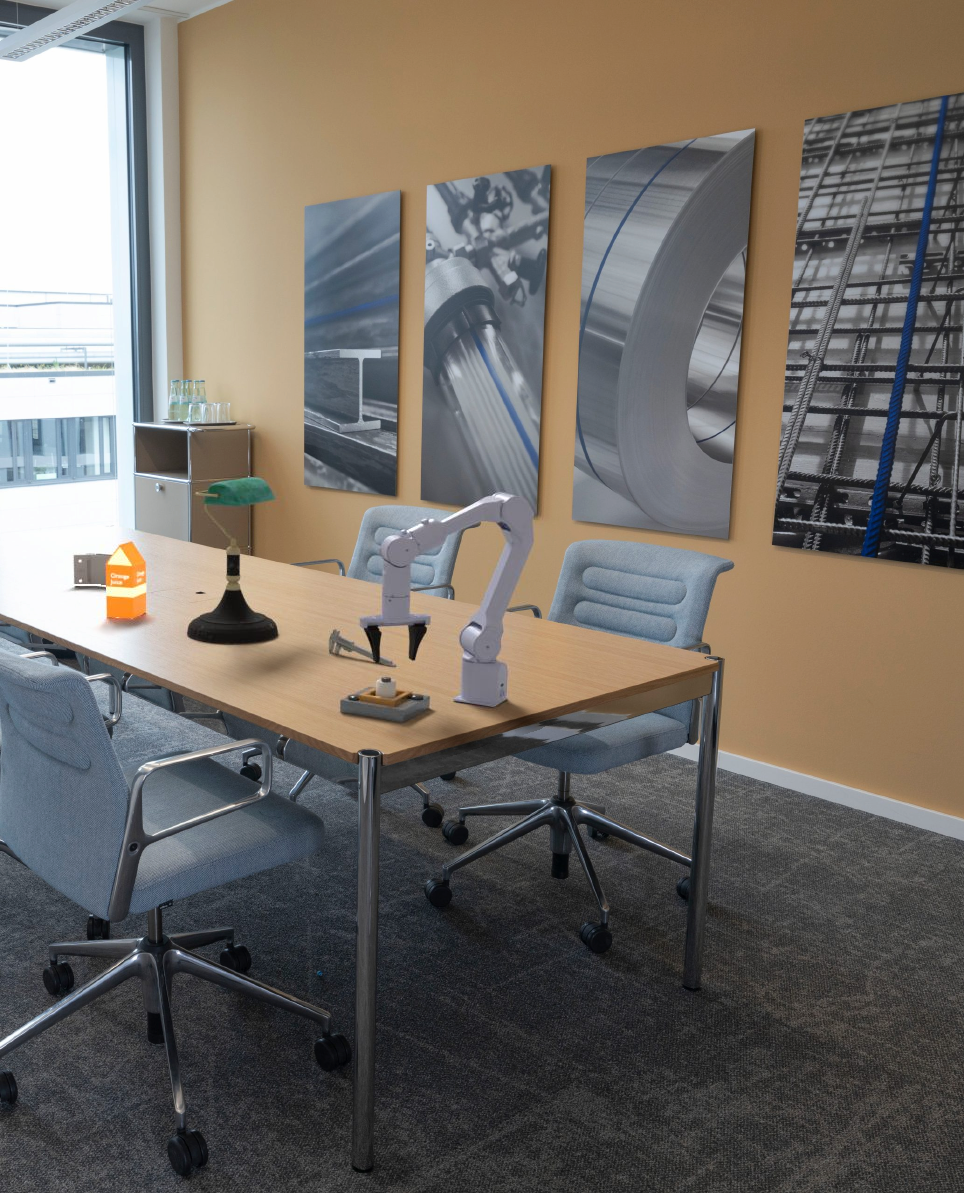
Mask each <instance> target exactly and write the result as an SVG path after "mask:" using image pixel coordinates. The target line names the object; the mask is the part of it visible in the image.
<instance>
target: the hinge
mask: <svg viewBox="0 0 964 1193" xmlns="http://www.w3.org/2000/svg"><path fill="white" fill-rule="evenodd" d="M112 555H113V553H112V554H109V553H96V554H95V553H93V552H92V553H91V552H89V553H85V554H73V585H74V584H101V585H106V564H107V562H108V561H109V559H110V558H111V556H112ZM80 560H81V561H80ZM80 580H81V581H80Z"/></svg>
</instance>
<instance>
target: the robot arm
mask: <svg viewBox="0 0 964 1193" xmlns="http://www.w3.org/2000/svg"><path fill="white" fill-rule="evenodd" d="M534 517H535V512H534V510H533V508H532V506H531V504H530V502H529V501H528V500H527V499H526V498H525V497H523V496H519V495H515V494H510V493H508V492H505V491H499V492H496V493H494V494H492V495H488V496H485V497H482V498H481V499H480V500H478V501H476V502H474V503H472V504H471V505H468V506H466V507H465V508H462V509H461V510H459V511H458V512H455V513H454V514H452V515H450V516H448V517H446V518H444V519H441V520H439V519H438V520H437V519H435V518H430V519H428V518H423V519H421V520H420V524H417V525H415V526H413V527H410V528H409V529H402V530H400V532H399V533H400V534H399V535H396V534H392V535H389V536H387V537H386V538H385V539H383V541H382V543H381V544H380V547H379V548H378V552H379V555H380V558H382V560H383V561H382V573H381V574H382V576H381V578H382V579H381V580H382V581H381V614H378V615H369V616H360V617H359V627H360V628H362V629H363V632H364V633H365V635H366V637H367V640H368V643H369V645H370V648H371V650H370V651H372V654H373V660H372V661H373V662H374V663H376V664H377V663H378V664H380V663H379V662H380V655H381V640H382V635H383V632H382V631H381V630H380V628H381V627H402V626H407V628H408V639H409V640H408V641H409V642H408V659H409V660H411V661H412V662H413V661H416V659H417V658H416V657H417V654H418V650H419V648H420V645H421V643H422V641H423V638H424V637H425V635H426V634H427V632H428V627H427V626H431V615H429V614H428V613H425V614H423V613H420V614H419V613H411V611H410V610H411V607H410V606H411V585H412V584H411V582H412V581H411V580H412V576H411V567H412V564H413V563H414V561H415V559H416V558H417V557H420V556H422V555H424V554H426V553H428V552H430V551H433V550H435V549H437V548H439V547H441V546H443V545H445V543H446V542H447V539H448V536H450V535H453V534H454V533H457V532H459V531H462V530H464V529H466V528H469V527H471V526H474V525H476V524H479V523H481V522H489V523H495V524H496V525H498V527H499V528H500V530H501V532H502V534H503V536H504V538H505V541H506V542H505V545H504V547H503V550H502V553H501V554H500V557H499V560H498V562H497V565H496V567H495V569H494V572H493V574H492V577H491V579H490V582H489V584H488V587H487V589H486V592H485V595H484V596H483V599H482V602H481V604H480V606H479V609H478V610H477V611H476V612H475V613H473V615H471V617H470V619H469V621H468V623H466V625H464V627H463V628H462V629H461V631H460V633H459V635H458V642H459V646H460V647H461V648H462V649H463V653H462V656H461V672H460V673H461V675H460V694H458V695H457V696H455V697H453V698H452V701H454V702H460V703H464V704H466V703H467V704H473V705H478V706H486V707H489V708H490V707H491V708H494V707H496V706H498V705H500V704H501V703H503V702H505V701H506V700H507V699H509V698H508V695H507V694H508V693H507V692H508V674H509V673H508V672H509V670H508V665H507V663H505V662H504V661H503V662H502V661H500V660H498V659H497V657H498V656H499V654H500V653H501V650H502V637H503V634H504V623H503V618H504V616H505V614H506V612H507V609H508V606H509V604H510V602H511V599H512V597H513V594H514V592H515V589H516V587H517V585H518V582H519V580H520V577H521V575H522V572H523V570H524V568H525V565H526V562H527V560H528V557H529V555H530V553H531V551H532V548H533V545H534V541H535V537H534V536H535V534H534V522H533V519H534ZM379 627H380V628H379Z"/></svg>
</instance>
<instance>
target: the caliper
mask: <svg viewBox="0 0 964 1193" xmlns="http://www.w3.org/2000/svg"><path fill="white" fill-rule="evenodd" d="M340 632H341V631H340V630H337V628H335V629H333V630H332V632H331V633H330V634H329V639H328V652H329V654H332V653H334V655H338V654H339V653H340V651H341V649H343V650H344V651H346V652H348V653H352V652H355V653H357V654H360V655H361V656H364V657H366V658H369V659H371V660H372V661H373V654H372V650H369V649H367V648H365V647H363V646H360V645H358V644H356V643H355V641H353V640H351V639H350V638H347V637H345V636H343V635H340ZM378 664H381V665H383V666H387V667H393V668H394V667H397V664H396V663H394V660H392V659H389V658H388V657H385V656H383V655H381V654H380V662H379V663H378Z"/></svg>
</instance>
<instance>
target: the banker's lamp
mask: <svg viewBox="0 0 964 1193" xmlns="http://www.w3.org/2000/svg"><path fill="white" fill-rule="evenodd" d="M194 494H195V496H197V497H199V496H200V497H205V498H204V499H203V500H204V501H203V505H204V511H205V512H206V513H207V515H208V516H209V517H210V518H211V520H212V521H213V522H214V523H215V524H216V525H217V526H218V528H220V530H221V531H222V532H223V534H224V535H226V537H227V538H228V539H229V541H230V546H228V547H226V550H225V554H226V575H225V579H226V581H227V582H228V583H226V584H225V585H226V586H225V589H224V592H223V594H222V597H221V599H220V601H219V603H218V604H217V606H216V607H215V608H214V609H213V610H212V611H209V612H205V613H202V614H200V615H199V616H197V617H196V618H193V619H192V620H191V621H190V622H189V624H188V625H187V630H186V635H187V636H188V637H189V638H191V639H193V640H197V641H199V640H200V641H199V642H204V641H205V642H206V643H212V642H214V643H213V644H227V643H229V644H234V643H236V644H251V643H260V642H265V641H267V640H268V641H269V640H272V639H274V638H275V637H276V636H278V635H279V631H278V626H277V623H276V622H275V621H274V620H273V619H272V618H270V617H269V616H267V615H265V614H263V613H261V612H256V611H254V610H253V609H252V608H251V607H250V606H249V604H248V602H247V600H246V598H245V596H244V595H243V591H242V589H241V584H240V583H239V581H240V580H241V571H240V570H241V549H240V547H239V546H237V538H234V537H233V536H232V535H231V534H230V533H229V532H228V531H227V530H226V528H225V527H224V526H223V525H222V524H221V523H220V521H218V519H217V518H216V517H215V516H214V514H212V512H210V510H209V508H208V507H209V506H210V505H213V506H226V507H227V506H228V507H244V506H246V507H247V506H250V505H255V504H260V503H261V504H262V503H264V502H269V501H270V502H271V501H275V500H276V499H277V498H276V495H275V493H274V492H273V490H272V489H271V487H270V486H269V484H268V483H267V482H266V481H265V480H264V479H262V478H260V477H254V476H253V477H251V476H250V477H244V478H237V479H230V480H224V481H217V482H215V483H212V484H211V485H209V487H208V489H207V490H202V491H196V492H195V493H194Z"/></svg>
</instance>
